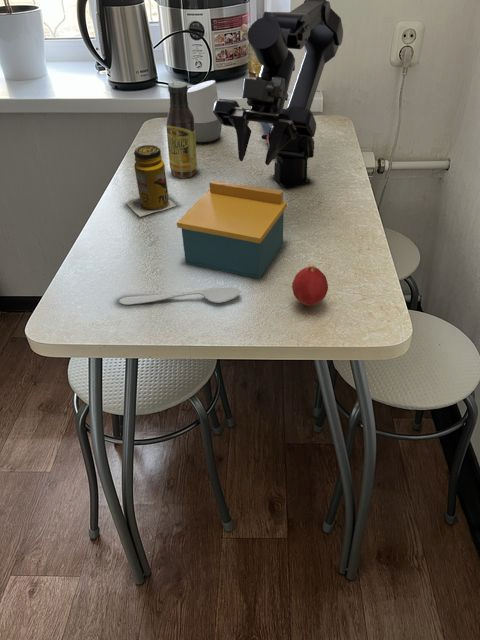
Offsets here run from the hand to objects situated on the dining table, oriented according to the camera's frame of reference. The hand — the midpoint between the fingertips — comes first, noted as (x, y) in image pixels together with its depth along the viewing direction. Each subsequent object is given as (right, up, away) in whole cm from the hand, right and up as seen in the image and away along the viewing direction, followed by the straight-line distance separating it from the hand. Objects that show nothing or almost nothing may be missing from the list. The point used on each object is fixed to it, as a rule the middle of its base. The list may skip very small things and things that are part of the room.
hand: (253, 162), depth 107 cm
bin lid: (-4, -11, -3) cm, 12 cm away
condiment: (-22, -4, +17) cm, 28 cm away
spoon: (-12, -26, -9) cm, 30 cm away
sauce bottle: (-16, +6, +28) cm, 33 cm away
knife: (+4, +20, +43) cm, 48 cm away
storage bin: (-3, -16, +2) cm, 17 cm away
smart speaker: (-13, +20, +43) cm, 50 cm away
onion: (+9, -27, -10) cm, 31 cm away
